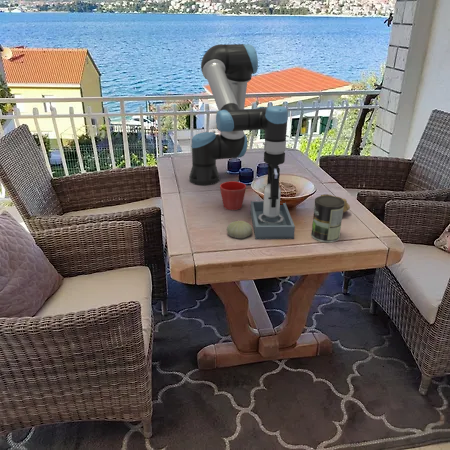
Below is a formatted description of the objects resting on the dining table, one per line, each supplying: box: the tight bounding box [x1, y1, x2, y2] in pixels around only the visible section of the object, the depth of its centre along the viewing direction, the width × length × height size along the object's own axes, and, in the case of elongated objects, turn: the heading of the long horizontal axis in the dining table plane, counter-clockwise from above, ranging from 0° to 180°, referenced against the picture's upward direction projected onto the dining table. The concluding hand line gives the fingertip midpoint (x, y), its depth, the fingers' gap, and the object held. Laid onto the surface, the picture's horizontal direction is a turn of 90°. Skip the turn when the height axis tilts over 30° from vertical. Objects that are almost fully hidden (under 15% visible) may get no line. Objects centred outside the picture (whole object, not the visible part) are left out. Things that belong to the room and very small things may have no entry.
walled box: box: [249, 200, 296, 240], centre depth 157 cm, size 24×14×5 cm, turn 1°
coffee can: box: [310, 195, 345, 244], centre depth 146 cm, size 10×10×14 cm
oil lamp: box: [320, 193, 351, 214], centre depth 167 cm, size 11×15×8 cm
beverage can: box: [263, 184, 282, 218], centre depth 153 cm, size 6×6×12 cm
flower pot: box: [219, 180, 247, 211], centre depth 172 cm, size 11×11×10 cm
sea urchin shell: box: [226, 220, 253, 239], centre depth 150 cm, size 9×8×8 cm
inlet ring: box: [258, 214, 284, 226], centre depth 157 cm, size 10×10×2 cm
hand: (271, 210), depth 155 cm, fingers closed on beverage can, 6 cm apart
